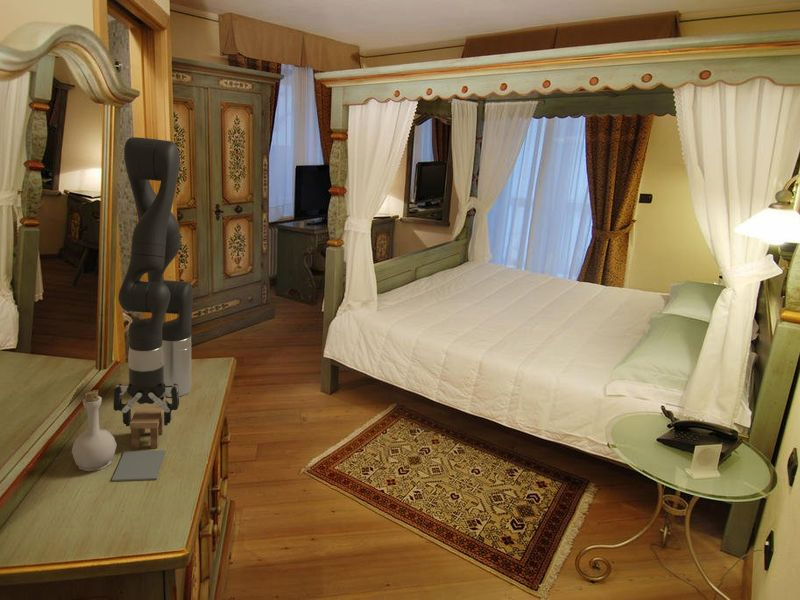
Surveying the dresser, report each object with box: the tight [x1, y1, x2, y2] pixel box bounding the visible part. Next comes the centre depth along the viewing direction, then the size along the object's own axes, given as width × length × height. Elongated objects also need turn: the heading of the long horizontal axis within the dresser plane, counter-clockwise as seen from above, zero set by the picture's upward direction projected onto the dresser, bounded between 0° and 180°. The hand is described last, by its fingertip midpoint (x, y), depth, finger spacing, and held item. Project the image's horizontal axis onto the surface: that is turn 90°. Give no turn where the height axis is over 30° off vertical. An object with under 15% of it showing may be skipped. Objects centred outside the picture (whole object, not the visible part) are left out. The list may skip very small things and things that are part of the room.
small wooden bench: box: [129, 406, 164, 450], centre depth 132 cm, size 8×6×7 cm
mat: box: [111, 449, 167, 482], centre depth 123 cm, size 11×9×1 cm
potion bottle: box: [71, 389, 118, 473], centre depth 120 cm, size 9×9×18 cm
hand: (147, 424), depth 132 cm, fingers open, 8 cm apart
